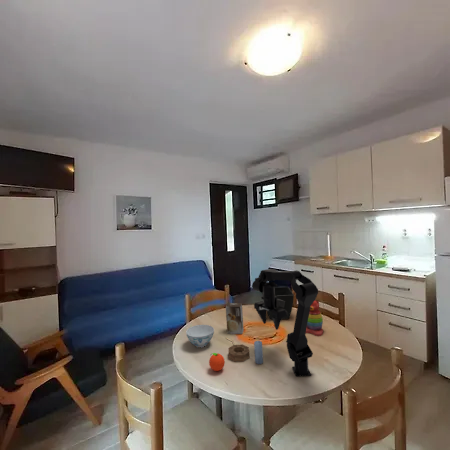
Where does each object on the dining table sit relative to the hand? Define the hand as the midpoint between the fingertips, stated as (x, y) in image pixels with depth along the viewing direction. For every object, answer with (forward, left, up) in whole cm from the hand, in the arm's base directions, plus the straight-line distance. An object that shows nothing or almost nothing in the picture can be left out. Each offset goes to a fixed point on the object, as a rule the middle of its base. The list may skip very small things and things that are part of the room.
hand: (270, 326), depth 127 cm
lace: (+10, +20, -13) cm, 26 cm away
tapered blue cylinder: (-8, +7, -13) cm, 17 cm away
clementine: (-13, +27, -13) cm, 32 cm away
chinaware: (+11, +36, -13) cm, 40 cm away
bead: (-2, +16, -13) cm, 21 cm away
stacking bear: (+21, -28, -13) cm, 37 cm away
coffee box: (+25, +17, -13) cm, 33 cm away
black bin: (+46, -12, -13) cm, 49 cm away
